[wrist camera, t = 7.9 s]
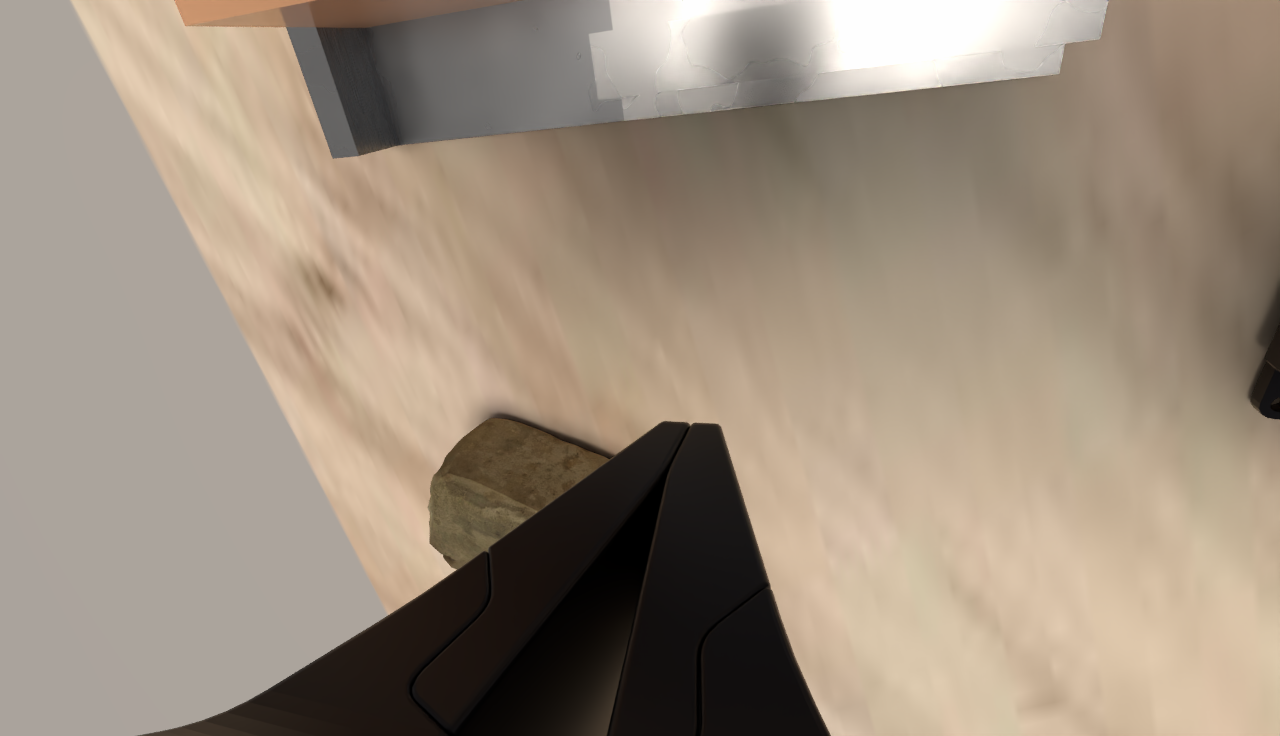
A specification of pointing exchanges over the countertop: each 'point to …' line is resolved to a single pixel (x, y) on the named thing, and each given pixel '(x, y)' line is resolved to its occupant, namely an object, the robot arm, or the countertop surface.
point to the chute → (660, 60)
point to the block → (318, 12)
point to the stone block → (499, 485)
